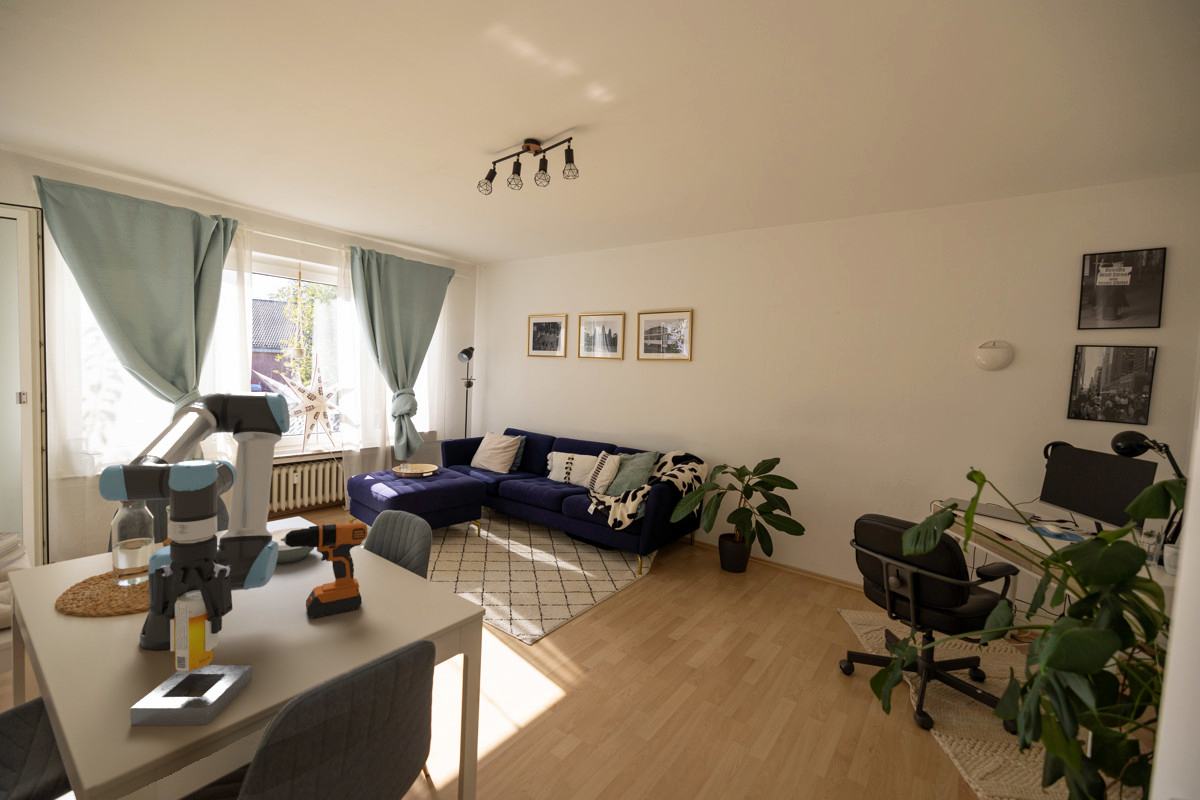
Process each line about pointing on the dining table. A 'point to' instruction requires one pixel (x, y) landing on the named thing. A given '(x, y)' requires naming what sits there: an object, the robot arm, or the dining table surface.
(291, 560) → the bowl
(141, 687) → the dining table surface
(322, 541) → the power drill
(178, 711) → the collar
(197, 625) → the beer can
